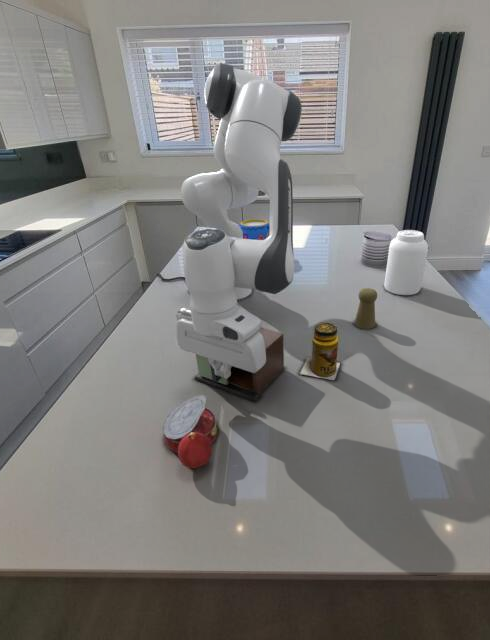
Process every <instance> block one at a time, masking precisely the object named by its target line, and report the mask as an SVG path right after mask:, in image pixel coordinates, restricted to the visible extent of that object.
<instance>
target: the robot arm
mask: <svg viewBox="0 0 490 640" xmlns="http://www.w3.org/2000/svg"><path fill="white" fill-rule="evenodd" d="M204 100H205V107H206V108H207V110H208V113H210V114H211V115H212V116H213V117H215V118H216V119H218V120H220V122H219V125H218V130H217V133H216V138H215V141H214V145H213V150H212V151H213V156H214V159H215V161H216V163H217V164H218V165H219V166H220V168H221V169H220V171H219V170H218V171H216V172H208V173H199V174H196V175H193V176H191V177H189V178H185V180H184V181H183V183H182V184H181V187H180V197H181V201H182V203H183V205H184V207H185V208H186V209H187V211H189V212H190V213H191V214H193V215H195V216H196V217H197V218H198V219H199V220H200V221H201V222H202V224H203V226H204V228H202V229H197V230H194V231H192V232H190V233H189V234H188V235H186V236H185V238H184V240H183V246H182V263H183V265H182V266H183V273H184V274H183V275H184V276H177V277H173V278H165V277H163V276H162V274H161V273H160V272H158V273H157V274H156V277H159V278H160V279H161V280H163V281H165V282H170V281H171V282H172V281H176V280H182V279H183V280H185V285H186V288H187V290H188V293H189V297H190V298H189V309H190V310H189V309H187V308H183V307H181V308H180V309H179V310H177V311H176V313H175V318H176V340H177V345H178V346H179V348H180V350H182V351H185V352H188V353H191V354H194V355H196V354H197V355H200V356H203V357H206V358H208V361H209V362H210V364H211V365H212V367H213V368H214V371H215V375H217V376H220V377H223V378H226V379H227V378H228V377H230V375H231V370H230V369H231V367H232V366H234V367H237V368H240V369H243V370H246V371H249V372H252V373H256V372H257V371H258V370H259V369H261V368H262V367H263V366H264V364H265V363H266V351H265V343H264V339H263V336H262V334H261V333H260V332H259V331H258V330H259V329H260V328H262V320H261V318H259V317H258V316H256V315H254V314H253V313H252V312H249V311H248V310H246V309H245V308H244V307H242V306H241V305H240V304H238V300H242V299H245V298H247V297H248V296H250V295H251V294H252V291H253V290H255V291H259V292H263V293H267V294H272V295H276V294H278V293H281V292H282V291H284V290H286V289H287V288H288V287H289V286H290V285H291V284H292V283H293V280H294V276H295V271H296V269H295V256H294V236H293V235H294V229H293V228H294V220H293V219H294V202H293V201H294V199H293V197H294V195H293V194H294V193H293V180H292V179H293V178H292V173H291V170H290V167H289V164H288V163H287V162H286V161H285V160H283V159H282V157H281V145H282V142H287V141H289V140H290V139H292V138H293V136H295V133H296V132H297V130H298V128H299V126H300V124H301V118H302V109H303V107H302V102H301V99H300V98H299V96H298V95H296V94H295V93H294V92H293V91H291V90H290V89H285V88H283V87H282V86H280V85H279V84H278V83H275V82H274V81H271V80H270V79H268V78H266V77H263V76H259V75H257V74H254V73H251V72H248V71H246V70H243V69H240V68H235V67H234V65H232V64H229V63H218V64H216V65H215V66H214V67H213V69H212V70H211V71H210V73H209V75H208V76H207V78H206V81H205V85H204ZM259 192H262V193H264V194H266V195H267V196H268V197H269V223H270V229H269V236H268V237H267V238H266V239H264V240H253V239H243V232H242V229H241V228H240V227H239V226H238V225H239V224H238V223H235V222H234V221H231V220H230V219H229V216H228V211H229V210H233V209H240V208H244V207H246V206H248V205H250V204H252V203H254V202H255V201H256V200H258V196H259ZM159 275H160V276H159ZM220 362H222V364H223V366H222V365H221V363H220Z"/></svg>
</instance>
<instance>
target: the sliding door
mask: <svg viewBox="0 0 490 640" xmlns="http://www.w3.org/2000/svg"><path fill="white" fill-rule="evenodd" d="M195 359H196V366H197V371H198V373H199V375H200V376H203V377H206V378H208V379H211V380H213V381H215V382H219V383H222V384H225V385H227V384H228V378H227V379H226V378H223V377H220V376H217V375H215V371H214V368H213V367H212V365H211V364H210V362H209V361H208V358H206V357H203V356H200V355H197V354H195ZM220 363H221V365H222V366H223V364H222V362H220Z"/></svg>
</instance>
